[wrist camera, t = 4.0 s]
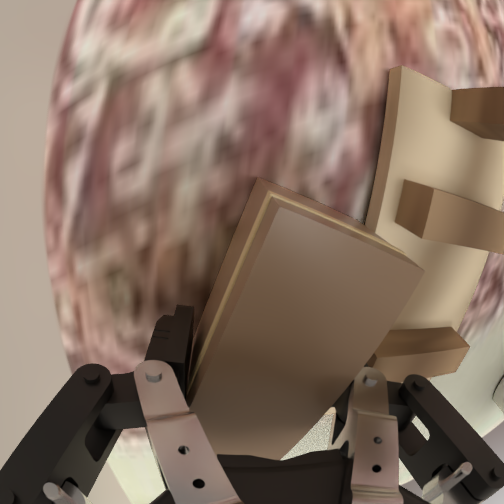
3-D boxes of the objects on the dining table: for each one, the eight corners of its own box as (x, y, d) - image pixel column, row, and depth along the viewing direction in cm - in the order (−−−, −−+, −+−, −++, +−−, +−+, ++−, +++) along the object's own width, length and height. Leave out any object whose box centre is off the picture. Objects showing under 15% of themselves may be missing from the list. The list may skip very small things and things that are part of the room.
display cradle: (500, 128, 10) (568, 140, 6) (410, 391, 17) (440, 442, 12) (389, 69, 9) (470, 46, 5) (306, 403, 16) (325, 471, 11)
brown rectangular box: (358, 219, 12) (427, 269, 7) (249, 408, 15) (256, 481, 11) (256, 175, 11) (278, 203, 6) (173, 391, 14) (161, 466, 10)
